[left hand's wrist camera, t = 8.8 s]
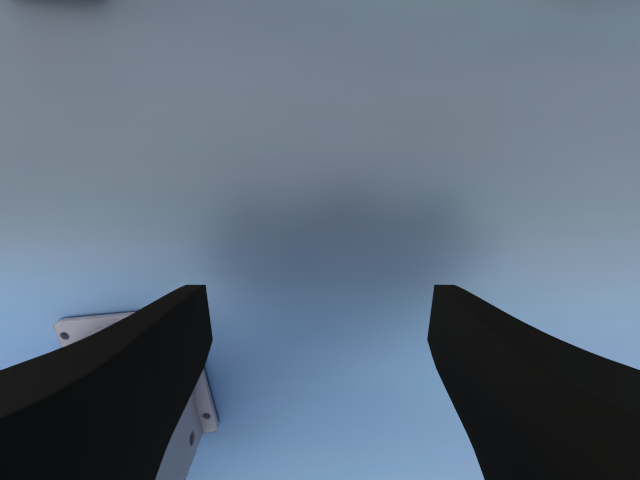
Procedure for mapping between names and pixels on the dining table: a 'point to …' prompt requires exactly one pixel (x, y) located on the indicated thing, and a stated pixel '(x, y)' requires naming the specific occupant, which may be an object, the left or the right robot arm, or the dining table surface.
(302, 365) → the dining table surface
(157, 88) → the dining table surface
